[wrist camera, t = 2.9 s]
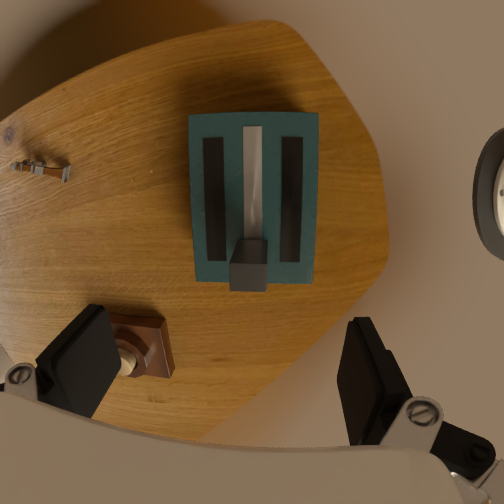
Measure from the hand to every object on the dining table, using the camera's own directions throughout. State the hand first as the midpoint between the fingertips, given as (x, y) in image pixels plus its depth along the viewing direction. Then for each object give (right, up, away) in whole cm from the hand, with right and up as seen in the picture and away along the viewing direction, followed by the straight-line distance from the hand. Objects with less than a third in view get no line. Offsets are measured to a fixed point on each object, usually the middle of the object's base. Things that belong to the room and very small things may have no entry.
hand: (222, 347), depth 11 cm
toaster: (+2, +9, +18) cm, 20 cm away
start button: (-15, -9, +22) cm, 28 cm away
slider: (+1, +4, +13) cm, 14 cm away
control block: (-14, -8, +25) cm, 30 cm away
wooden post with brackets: (-23, +14, +19) cm, 33 cm away
